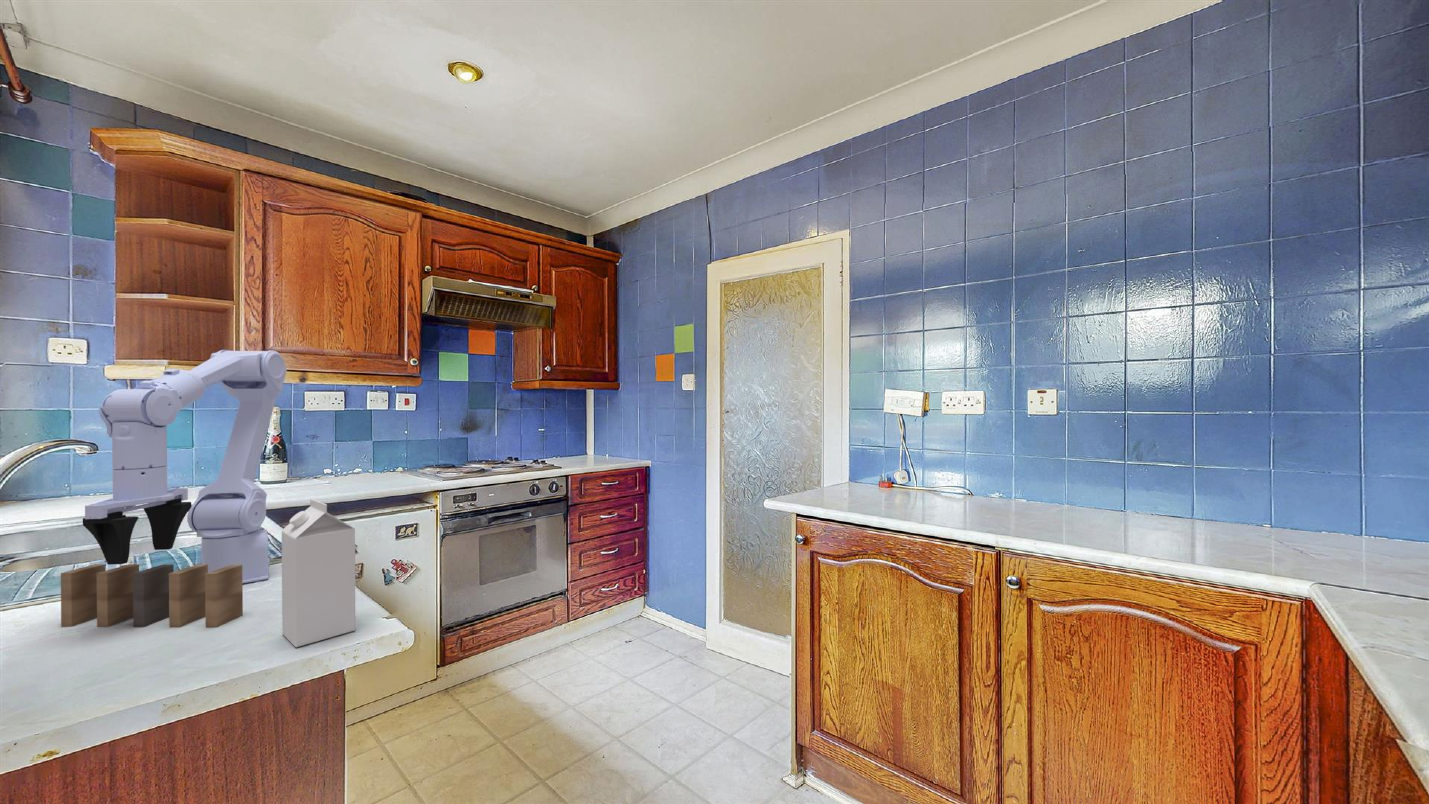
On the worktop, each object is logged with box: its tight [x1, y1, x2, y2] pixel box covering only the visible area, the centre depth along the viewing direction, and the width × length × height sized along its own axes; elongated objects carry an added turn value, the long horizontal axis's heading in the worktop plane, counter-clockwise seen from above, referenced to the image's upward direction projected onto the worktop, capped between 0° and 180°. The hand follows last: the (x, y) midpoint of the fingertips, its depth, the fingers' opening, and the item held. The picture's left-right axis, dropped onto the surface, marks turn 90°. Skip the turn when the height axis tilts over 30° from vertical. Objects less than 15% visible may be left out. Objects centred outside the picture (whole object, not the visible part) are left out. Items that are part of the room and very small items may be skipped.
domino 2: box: [96, 563, 140, 628], centre depth 83 cm, size 4×2×8 cm, turn 179°
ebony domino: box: [132, 563, 175, 628], centre depth 83 cm, size 4×2×8 cm, turn 179°
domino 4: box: [205, 565, 244, 629], centre depth 82 cm, size 4×2×8 cm, turn 179°
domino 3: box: [168, 563, 208, 628], centre depth 83 cm, size 4×2×8 cm, turn 179°
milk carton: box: [281, 498, 357, 648], centre depth 78 cm, size 7×7×19 cm
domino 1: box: [60, 563, 106, 628], centre depth 83 cm, size 4×2×8 cm, turn 179°
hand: (141, 556), depth 83 cm, fingers open, 7 cm apart
